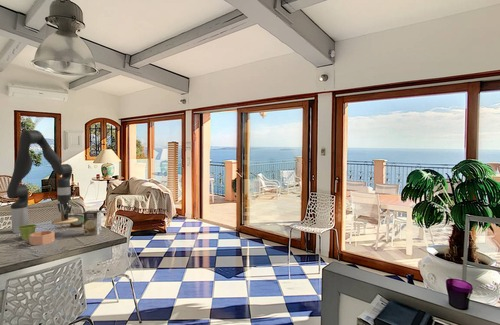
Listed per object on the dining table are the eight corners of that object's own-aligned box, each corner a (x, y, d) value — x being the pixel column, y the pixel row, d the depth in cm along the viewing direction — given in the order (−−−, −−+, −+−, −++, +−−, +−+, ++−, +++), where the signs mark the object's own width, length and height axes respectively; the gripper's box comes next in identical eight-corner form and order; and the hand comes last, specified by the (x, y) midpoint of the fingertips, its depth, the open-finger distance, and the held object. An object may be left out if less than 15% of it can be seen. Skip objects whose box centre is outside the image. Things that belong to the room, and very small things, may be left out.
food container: (89, 225, 224) (88, 212, 224) (84, 227, 218) (83, 214, 218) (74, 225, 226) (73, 212, 225) (68, 227, 219) (68, 214, 219)
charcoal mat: (45, 236, 197) (45, 235, 197) (71, 230, 212) (71, 229, 212) (59, 240, 189) (58, 239, 188) (85, 233, 203) (85, 232, 203)
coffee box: (83, 236, 198) (82, 212, 197) (88, 233, 204) (87, 210, 203) (97, 235, 198) (96, 212, 197) (101, 233, 205) (101, 210, 204)
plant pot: (22, 242, 185) (22, 229, 185) (16, 240, 190) (15, 227, 190) (39, 238, 193) (39, 225, 193) (33, 236, 198) (32, 223, 198)
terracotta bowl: (26, 244, 182) (26, 234, 182) (48, 238, 193) (47, 229, 192) (36, 247, 176) (35, 237, 176) (57, 241, 186) (57, 232, 186)
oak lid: (47, 222, 197) (46, 212, 197) (70, 217, 210) (69, 208, 210) (59, 225, 190) (58, 215, 189) (82, 220, 203) (82, 210, 202)
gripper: (52, 193, 199) (53, 218, 200) (64, 195, 192) (64, 221, 193) (64, 192, 206) (65, 216, 207) (75, 193, 198) (76, 219, 199)
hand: (64, 218), depth 200 cm, fingers closed on oak lid, 3 cm apart
